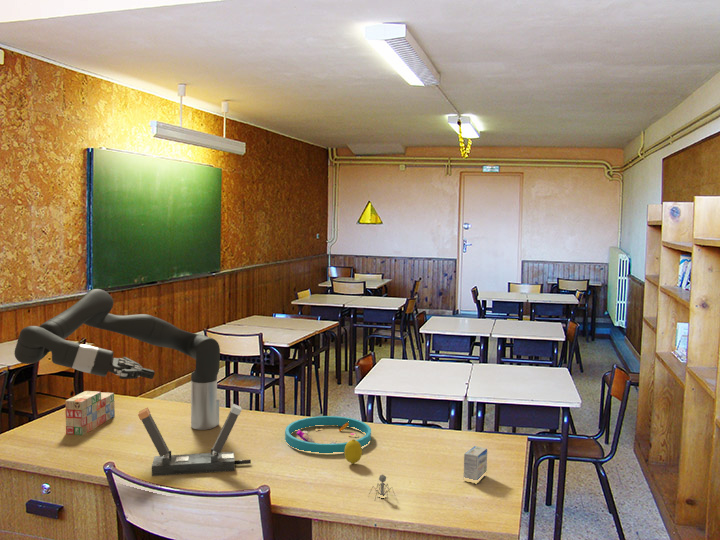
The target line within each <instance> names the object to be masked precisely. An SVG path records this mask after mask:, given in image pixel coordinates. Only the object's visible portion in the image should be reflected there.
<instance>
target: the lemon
mask: <svg viewBox="0 0 720 540" xmlns="http://www.w3.org/2000/svg"><path fill="white" fill-rule="evenodd" d="M356 440H357V439H355V438H353V439H351V440H349V441H347V442H348V443H347V444H346V446H345V450H344V453H345V454H344V457H345V459H346V461H347V462H349V463H351V464H352V463H354V464H355V463H357V462H359V461H360V460H361V458H362V455H363V449H362V448H361V445H360V443H359V442H358V441H356Z"/></svg>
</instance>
